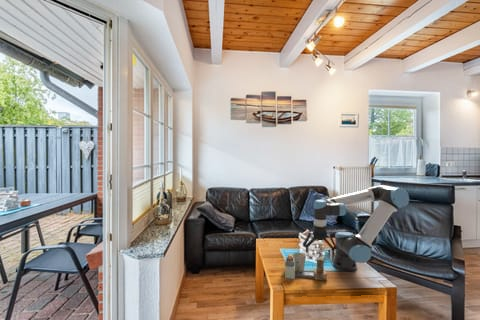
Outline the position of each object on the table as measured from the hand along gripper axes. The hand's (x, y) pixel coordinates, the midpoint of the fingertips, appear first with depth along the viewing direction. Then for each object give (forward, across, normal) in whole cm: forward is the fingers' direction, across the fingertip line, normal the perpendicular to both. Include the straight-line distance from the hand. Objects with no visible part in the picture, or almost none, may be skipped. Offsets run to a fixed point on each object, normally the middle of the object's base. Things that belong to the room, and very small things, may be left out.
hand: (319, 258), depth 143 cm
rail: (+12, +6, 0) cm, 13 cm away
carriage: (+12, 0, 0) cm, 12 cm away
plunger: (+3, +18, 0) cm, 18 cm away
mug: (+12, +14, -8) cm, 20 cm away
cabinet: (+12, +18, 0) cm, 22 cm away
